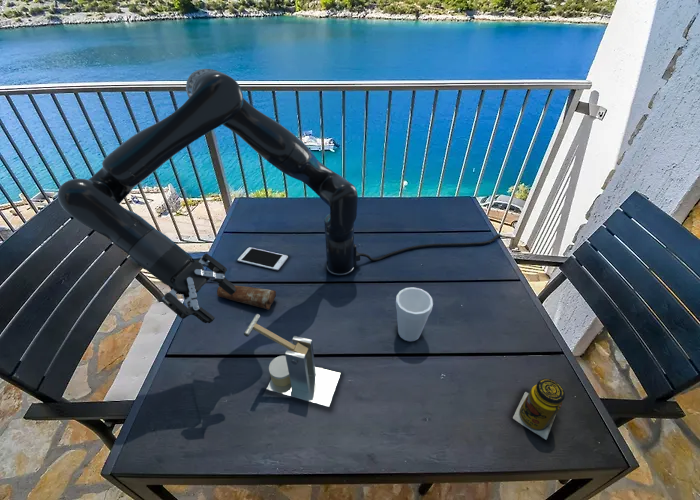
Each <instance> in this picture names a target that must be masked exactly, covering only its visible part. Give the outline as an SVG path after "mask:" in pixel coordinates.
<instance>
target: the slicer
mask: <svg viewBox="0 0 700 500" xmlns="http://www.w3.org/2000/svg"><path fill="white" fill-rule="evenodd" d="M291 341H292V344H294V345H296V344H297V343H300V344H302V345H303V346H305V347H307V348H308V351H307V353H306V355H304V354H300V353H296V352H292V351H291V350H289V349H286V351H285V353H284V356H286V361H287V366H288V371H289V376H290V381H291V383H290V384H289V385H287V386H277V385H275V384H274V383H273V382H272V379H271V378H270V381H269V382H268V384H267V387H266V390H268V391H271V392H274V393H278V394H282V395H285V396H289V397H292V398H296V399H300V400H303V401H305V402H309V403H314V404H317V405H321V406H324V407H328V408H329V407H330V405H331V403H332V400H333V397H334V394H335V391H336V388H337V385H338V382H339V379H340V377H341V372H338V371H334V370H329V369H325V368H323V367H318V366H316V362H315V354H314V345H313V340H312V339H310V338H306V337H301V336H297V335H293V337H292V340H291Z"/></svg>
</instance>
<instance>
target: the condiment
mask: <svg viewBox="0 0 700 500" xmlns="http://www.w3.org/2000/svg"><path fill="white" fill-rule="evenodd" d="M565 397H566V393H565V390H564V388H563V387H562V385H560V383H558V382H557V381H555V380H554V379H551V378H541V379H539V380H538V381H537V383H536V384H535V385H534V386H532V387H531V388H530V390H529V392H527V391H525V392H524V394H523V396H522V397H521V399H520V402H519V403H518V406H517V408H516V410H515V411H514V415H513V416H512V419H513V421H516V422H517V423H519V424H520V425H522V426H523V427H525V428H526V429H528V430H530V431H531V432H533V433H534V434H536V435H538V436H539V437H541V438H542V439H544V440H546V441H547V439H548V437H549V434H550V432H551V429H552V426H553V424H554V423H555V422H554V421H555V419H556V416H557V413H558V412H559V411H560V409H561V407H562V405H563V401H564V400H565Z"/></svg>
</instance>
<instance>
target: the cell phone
mask: <svg viewBox="0 0 700 500" xmlns="http://www.w3.org/2000/svg"><path fill="white" fill-rule="evenodd" d="M288 259H289V256H288V255H287V254H282V253H276V252H274V251H268V250H265V249H260V248H255V247H251V246H250V247H248V248H246V249H245V250H244V252H243V253H242V254H241V255H240V256H239V257H238V258H237V262H240V263H244V264H248V265H253V266H257V267H261V268H265V269H270V270H273V271H279V270H280V269H281V268H282V267H283V265H284V264H285V262H286V261H287V260H288Z"/></svg>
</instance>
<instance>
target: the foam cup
mask: <svg viewBox="0 0 700 500" xmlns="http://www.w3.org/2000/svg"><path fill="white" fill-rule="evenodd" d="M395 297H396V298H395V309H396V320H397V333H398V335H399V337H400V338H401V339H402V340H404V341H407V342H415V341H417V340H419V338H420V337H421V335H422V333H423V331H424V328H425V326H426V323H427V322H428V319H429V316H430V314H431V313H432V311H433V307H434V306H433V305H434V299H433V297H432V296H431V295H430V293H429V292H428V291H426V290H424V289H422V288H419V287H415V286H413V287H405V288H403V289H401V290H399V292H398V293H397V294H396V296H395Z"/></svg>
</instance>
